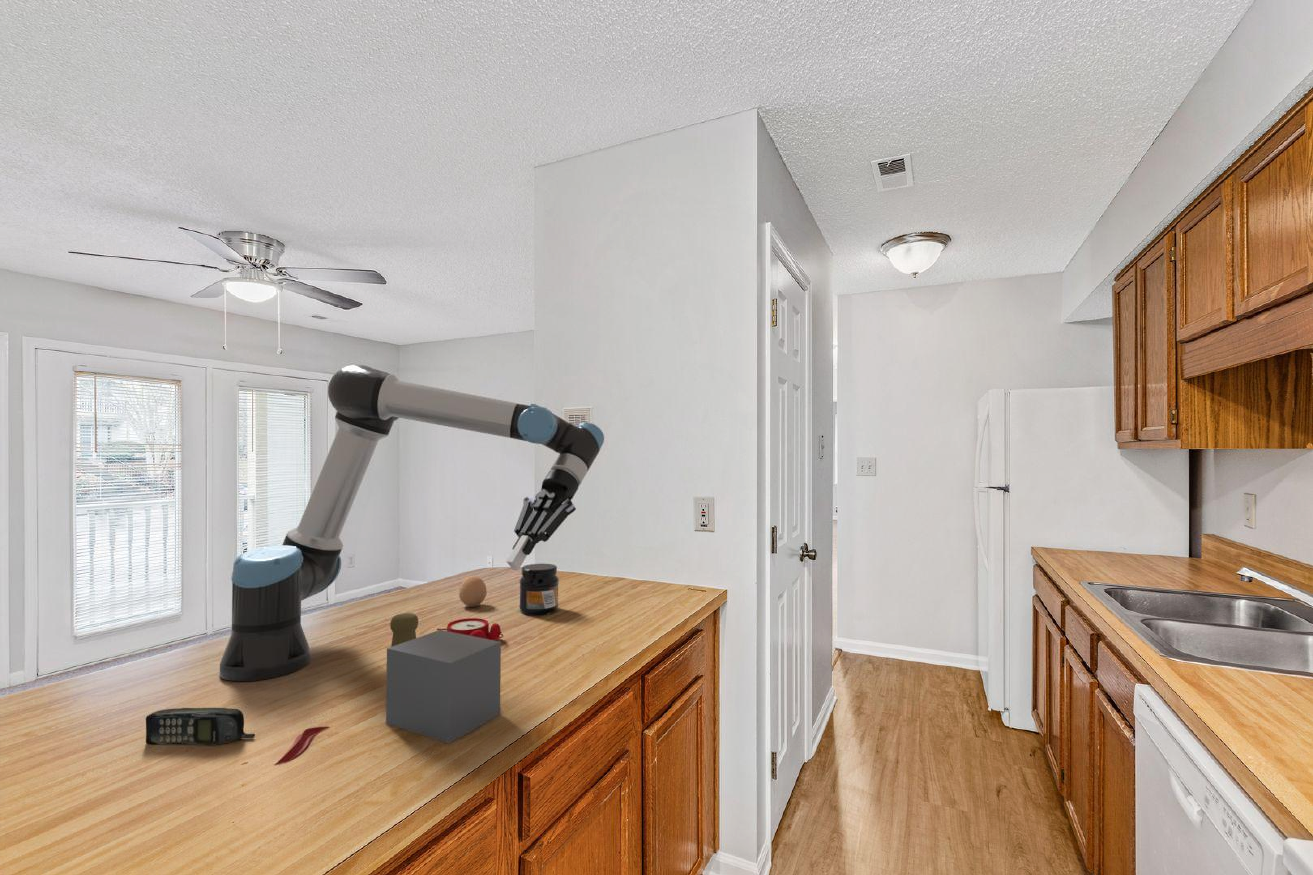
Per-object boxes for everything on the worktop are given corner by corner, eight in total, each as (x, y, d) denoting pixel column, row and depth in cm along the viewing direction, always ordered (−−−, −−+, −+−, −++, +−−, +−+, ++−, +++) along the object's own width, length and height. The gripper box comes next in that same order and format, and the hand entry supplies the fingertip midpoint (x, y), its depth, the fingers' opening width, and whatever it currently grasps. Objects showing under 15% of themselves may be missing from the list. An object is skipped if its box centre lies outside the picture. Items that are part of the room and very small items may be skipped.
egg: (478, 610, 160) (478, 579, 160) (453, 608, 161) (454, 577, 162) (491, 603, 167) (491, 573, 167) (467, 602, 169) (467, 572, 169)
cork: (426, 667, 119) (427, 612, 119) (402, 677, 113) (403, 620, 113) (405, 662, 121) (405, 608, 121) (380, 672, 116) (381, 616, 116)
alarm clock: (464, 616, 143) (511, 610, 136) (468, 642, 142) (515, 637, 135) (430, 627, 133) (478, 621, 127) (434, 655, 133) (483, 651, 126)
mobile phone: (141, 715, 87) (244, 711, 87) (158, 706, 90) (257, 702, 90) (141, 749, 87) (245, 745, 87) (158, 739, 90) (258, 735, 90)
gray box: (449, 743, 88) (450, 663, 88) (385, 723, 94) (386, 648, 95) (500, 714, 98) (500, 641, 98) (439, 697, 104) (440, 629, 104)
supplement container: (554, 616, 155) (554, 570, 155) (514, 616, 155) (515, 570, 155) (561, 605, 165) (561, 563, 166) (524, 605, 166) (524, 562, 166)
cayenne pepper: (321, 727, 94) (321, 714, 94) (345, 731, 93) (345, 718, 93) (251, 765, 82) (252, 752, 82) (278, 771, 81) (278, 757, 81)
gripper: (595, 491, 131) (546, 580, 116) (548, 488, 137) (496, 573, 122) (582, 468, 126) (529, 557, 111) (534, 466, 132) (478, 551, 117)
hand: (512, 565), depth 116 cm, fingers closed
